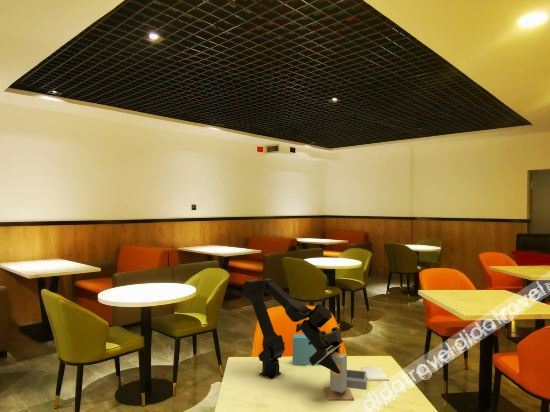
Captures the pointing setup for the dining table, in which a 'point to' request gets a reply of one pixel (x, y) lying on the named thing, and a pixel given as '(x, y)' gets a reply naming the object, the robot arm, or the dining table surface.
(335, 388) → the labelled box
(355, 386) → the parts bin
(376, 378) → the hard drive
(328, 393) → the walnut pad
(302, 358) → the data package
